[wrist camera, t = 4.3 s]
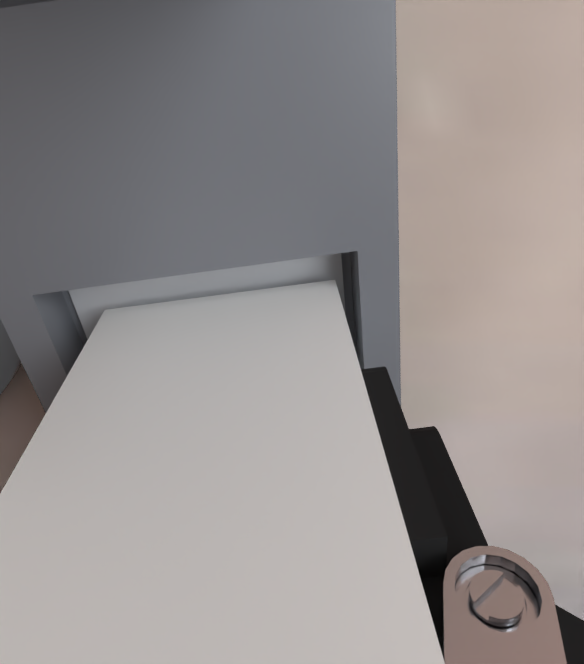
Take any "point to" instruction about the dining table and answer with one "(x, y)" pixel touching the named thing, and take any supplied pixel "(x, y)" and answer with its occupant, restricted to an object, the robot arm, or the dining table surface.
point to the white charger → (211, 498)
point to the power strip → (194, 163)
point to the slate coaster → (7, 359)
